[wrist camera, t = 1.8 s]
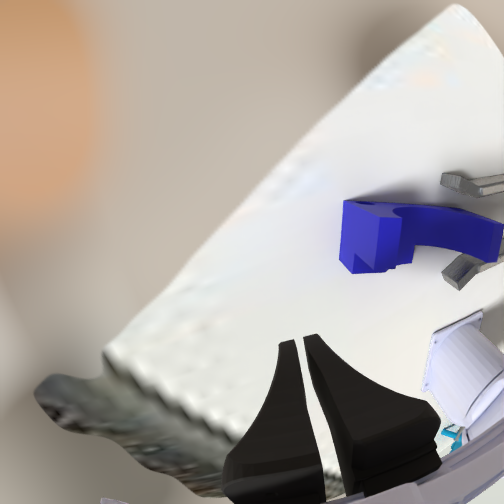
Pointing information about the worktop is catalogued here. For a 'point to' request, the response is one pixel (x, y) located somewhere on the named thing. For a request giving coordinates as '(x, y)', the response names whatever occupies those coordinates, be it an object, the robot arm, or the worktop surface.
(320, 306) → the worktop surface
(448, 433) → the blue knobby toy
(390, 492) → the robot arm
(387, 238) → the cable clip
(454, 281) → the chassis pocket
